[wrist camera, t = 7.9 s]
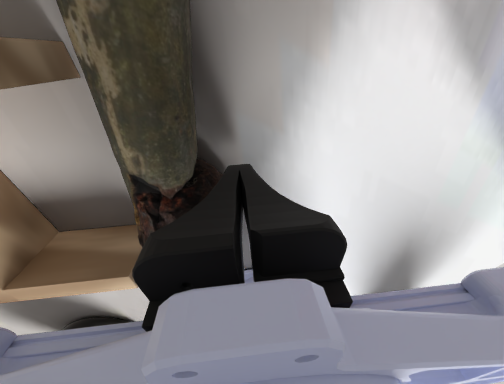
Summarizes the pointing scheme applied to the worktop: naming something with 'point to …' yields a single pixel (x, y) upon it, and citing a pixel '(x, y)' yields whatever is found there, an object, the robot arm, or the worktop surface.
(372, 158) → the worktop surface
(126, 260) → the light wooden open box
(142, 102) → the metal pipe
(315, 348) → the robot arm
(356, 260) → the worktop surface
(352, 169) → the worktop surface
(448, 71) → the worktop surface
